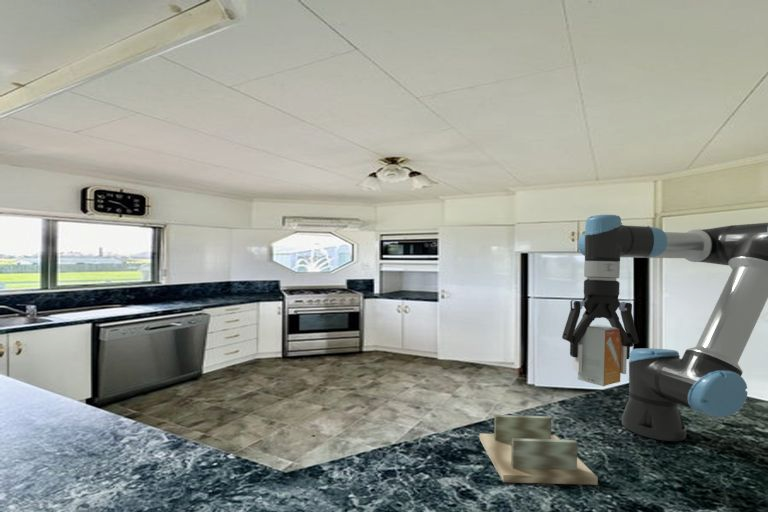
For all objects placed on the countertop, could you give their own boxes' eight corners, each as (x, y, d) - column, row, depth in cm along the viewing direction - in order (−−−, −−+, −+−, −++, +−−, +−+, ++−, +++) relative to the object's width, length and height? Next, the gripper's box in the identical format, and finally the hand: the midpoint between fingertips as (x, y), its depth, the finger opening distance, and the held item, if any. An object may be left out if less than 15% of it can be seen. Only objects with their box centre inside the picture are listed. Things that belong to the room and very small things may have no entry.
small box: (604, 387, 88) (605, 329, 88) (576, 379, 93) (578, 325, 93) (621, 382, 92) (622, 327, 92) (594, 375, 97) (595, 323, 98)
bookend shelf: (555, 441, 101) (555, 412, 101) (597, 484, 81) (598, 448, 81) (479, 439, 101) (480, 410, 101) (503, 482, 81) (503, 446, 81)
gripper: (562, 278, 89) (559, 374, 89) (658, 281, 89) (656, 377, 89) (548, 276, 97) (545, 365, 96) (637, 280, 97) (635, 369, 96)
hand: (599, 371), depth 93 cm, fingers closed on small box, 10 cm apart
